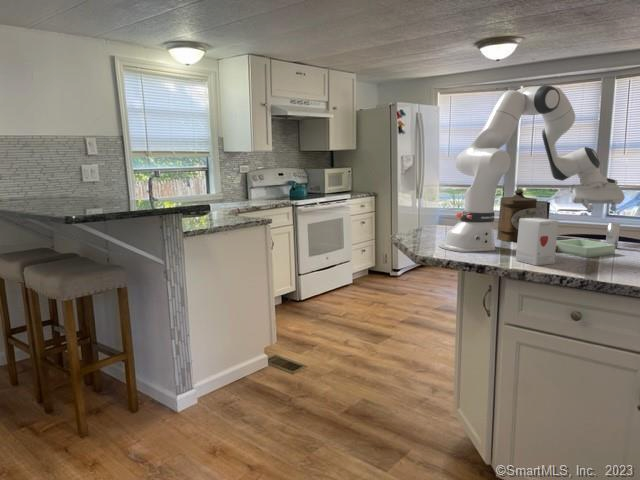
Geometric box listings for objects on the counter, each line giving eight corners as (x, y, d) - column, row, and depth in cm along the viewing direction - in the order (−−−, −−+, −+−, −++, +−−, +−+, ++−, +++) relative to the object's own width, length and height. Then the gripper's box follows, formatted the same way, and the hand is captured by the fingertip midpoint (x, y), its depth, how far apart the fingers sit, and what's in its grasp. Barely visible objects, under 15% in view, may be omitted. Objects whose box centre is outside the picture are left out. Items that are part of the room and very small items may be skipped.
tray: (586, 257, 169) (587, 248, 168) (550, 250, 182) (550, 241, 182) (614, 254, 176) (615, 244, 175) (577, 247, 189) (578, 238, 188)
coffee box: (547, 238, 209) (550, 202, 207) (532, 237, 211) (535, 201, 208) (542, 235, 218) (545, 200, 215) (527, 234, 220) (530, 200, 217)
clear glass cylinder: (612, 249, 185) (615, 224, 183) (602, 247, 189) (605, 222, 187) (619, 248, 187) (622, 223, 185) (609, 246, 190) (612, 222, 189)
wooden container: (518, 243, 196) (522, 191, 192) (490, 238, 209) (493, 188, 205) (541, 240, 203) (545, 190, 199) (512, 235, 216) (516, 188, 212)
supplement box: (535, 266, 156) (539, 221, 153) (514, 260, 164) (518, 218, 161) (555, 263, 159) (559, 220, 157) (533, 258, 167) (537, 216, 165)
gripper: (571, 179, 201) (579, 204, 193) (620, 180, 200) (631, 205, 192) (565, 189, 206) (573, 214, 199) (614, 190, 205) (623, 214, 197)
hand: (602, 209), depth 195 cm, fingers open, 8 cm apart
